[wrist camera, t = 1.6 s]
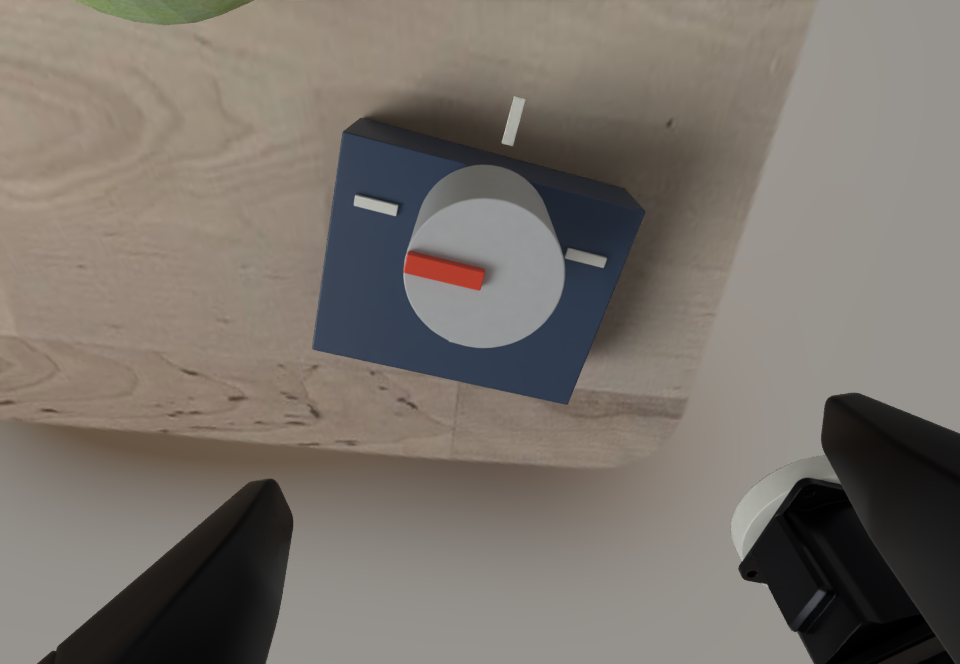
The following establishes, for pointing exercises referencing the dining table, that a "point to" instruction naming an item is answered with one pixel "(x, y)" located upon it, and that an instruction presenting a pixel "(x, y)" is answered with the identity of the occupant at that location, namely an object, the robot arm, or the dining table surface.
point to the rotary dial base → (386, 236)
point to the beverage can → (165, 9)
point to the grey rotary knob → (484, 258)
